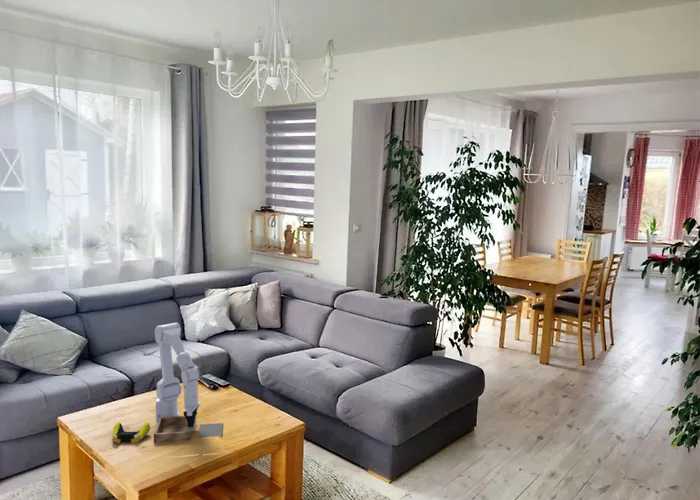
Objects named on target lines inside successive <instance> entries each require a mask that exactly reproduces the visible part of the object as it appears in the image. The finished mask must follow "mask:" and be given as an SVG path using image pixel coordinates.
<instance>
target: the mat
mask: <svg viewBox="0 0 700 500" xmlns="http://www.w3.org/2000/svg"><path fill="white" fill-rule="evenodd" d="M223 426H224V422H218V423H202V424H199V428H198V433H197V434H198V435H197V438H208V437H209V438H210V437H211V438H212V437H220V438H222V436H223V430H224V429H223Z"/></svg>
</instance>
